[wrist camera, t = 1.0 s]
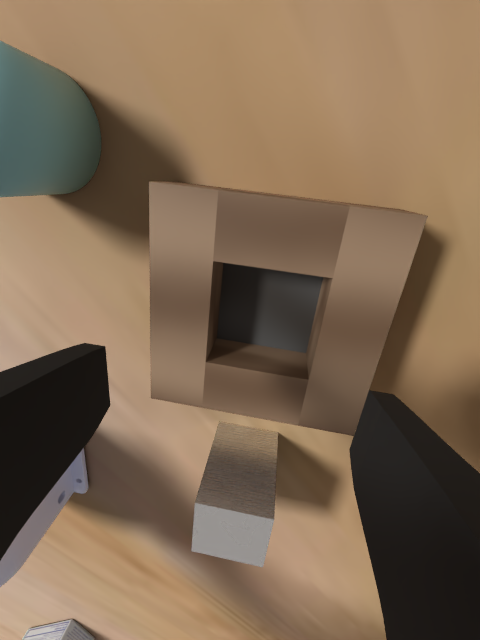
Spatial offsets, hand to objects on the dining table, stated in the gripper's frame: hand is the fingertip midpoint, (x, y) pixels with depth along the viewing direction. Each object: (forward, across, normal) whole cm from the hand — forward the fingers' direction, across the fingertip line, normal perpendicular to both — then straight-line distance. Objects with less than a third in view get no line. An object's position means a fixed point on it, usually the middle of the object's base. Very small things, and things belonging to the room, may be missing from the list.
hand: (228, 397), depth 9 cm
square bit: (+10, 0, +12) cm, 15 cm away
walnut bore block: (+9, 0, 0) cm, 9 cm away
